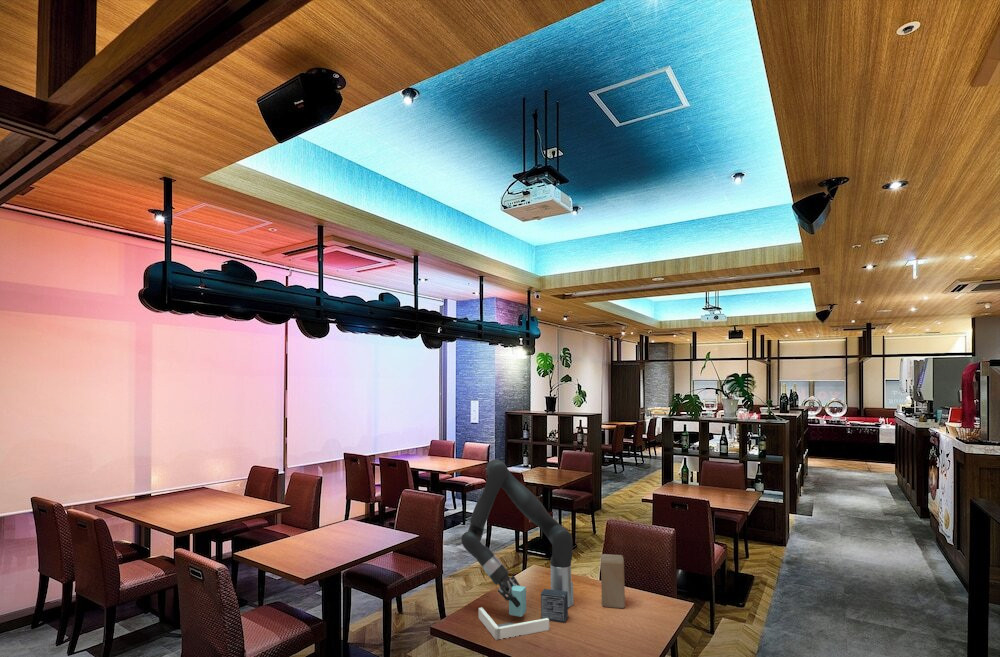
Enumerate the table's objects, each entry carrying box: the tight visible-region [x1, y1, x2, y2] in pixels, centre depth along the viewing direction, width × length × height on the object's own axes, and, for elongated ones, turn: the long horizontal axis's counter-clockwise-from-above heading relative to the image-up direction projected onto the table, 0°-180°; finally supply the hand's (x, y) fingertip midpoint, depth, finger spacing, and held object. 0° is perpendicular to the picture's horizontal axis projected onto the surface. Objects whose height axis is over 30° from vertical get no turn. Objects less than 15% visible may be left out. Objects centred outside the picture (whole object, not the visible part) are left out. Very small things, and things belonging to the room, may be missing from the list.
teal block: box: [508, 584, 527, 618], centre depth 223 cm, size 6×6×10 cm
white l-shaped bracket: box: [478, 607, 550, 641], centre depth 218 cm, size 23×21×4 cm
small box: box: [540, 588, 569, 624], centre depth 224 cm, size 11×6×10 cm, turn 71°
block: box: [600, 553, 626, 609], centre depth 238 cm, size 10×10×20 cm
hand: (521, 603), depth 222 cm, fingers closed on teal block, 5 cm apart
